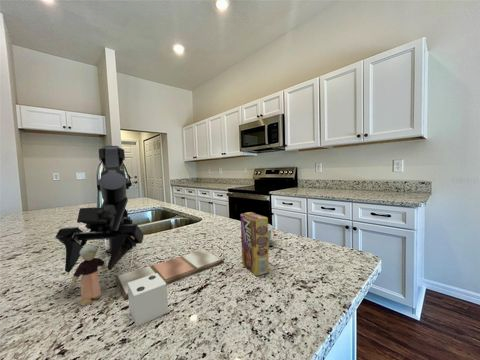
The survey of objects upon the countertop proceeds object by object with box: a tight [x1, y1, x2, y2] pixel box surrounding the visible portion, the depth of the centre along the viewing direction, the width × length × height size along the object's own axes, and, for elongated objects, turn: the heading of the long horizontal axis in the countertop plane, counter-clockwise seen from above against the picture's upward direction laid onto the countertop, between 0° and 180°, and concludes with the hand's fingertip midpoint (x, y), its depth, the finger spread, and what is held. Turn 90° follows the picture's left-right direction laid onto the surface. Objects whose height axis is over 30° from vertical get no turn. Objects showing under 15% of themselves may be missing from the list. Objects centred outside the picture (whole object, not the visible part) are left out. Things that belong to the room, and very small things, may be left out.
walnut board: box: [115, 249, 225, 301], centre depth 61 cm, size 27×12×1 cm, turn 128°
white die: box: [127, 273, 169, 327], centre depth 44 cm, size 6×6×6 cm
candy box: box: [240, 211, 270, 277], centre depth 60 cm, size 9×4×15 cm, turn 26°
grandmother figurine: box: [70, 244, 108, 307], centre depth 49 cm, size 8×4×13 cm, turn 168°
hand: (88, 270), depth 48 cm, fingers open, 9 cm apart
